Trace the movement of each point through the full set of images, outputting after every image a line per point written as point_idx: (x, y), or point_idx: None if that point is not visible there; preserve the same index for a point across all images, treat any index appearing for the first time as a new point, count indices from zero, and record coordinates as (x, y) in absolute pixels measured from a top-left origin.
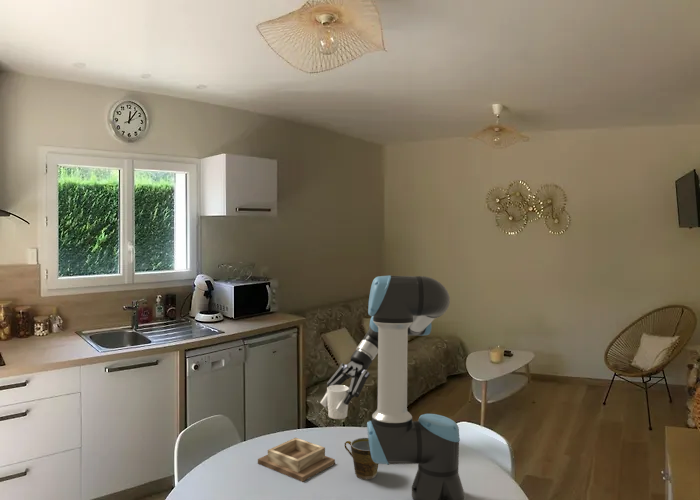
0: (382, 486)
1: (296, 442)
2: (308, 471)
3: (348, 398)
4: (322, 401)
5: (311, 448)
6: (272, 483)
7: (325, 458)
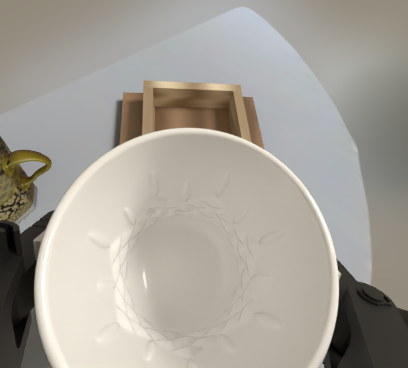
0: None
1: None
2: (129, 113)
3: (24, 231)
4: None
5: None
6: (167, 72)
7: None
